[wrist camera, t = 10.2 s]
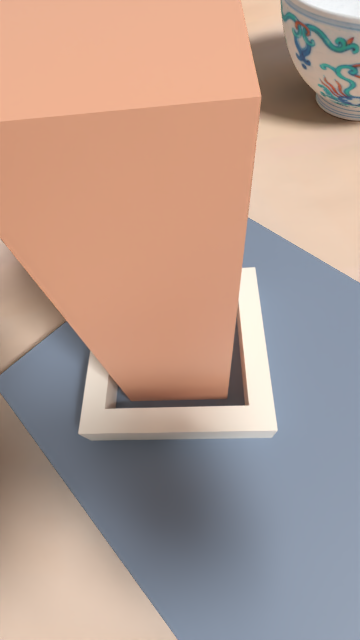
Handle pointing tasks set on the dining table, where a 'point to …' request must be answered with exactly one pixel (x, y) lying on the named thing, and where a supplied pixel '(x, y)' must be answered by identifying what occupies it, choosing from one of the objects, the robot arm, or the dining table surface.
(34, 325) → the dining table surface
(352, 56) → the chinaware
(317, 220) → the dining table surface
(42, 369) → the board
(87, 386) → the snap socket
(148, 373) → the terracotta pillar
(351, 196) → the dining table surface
